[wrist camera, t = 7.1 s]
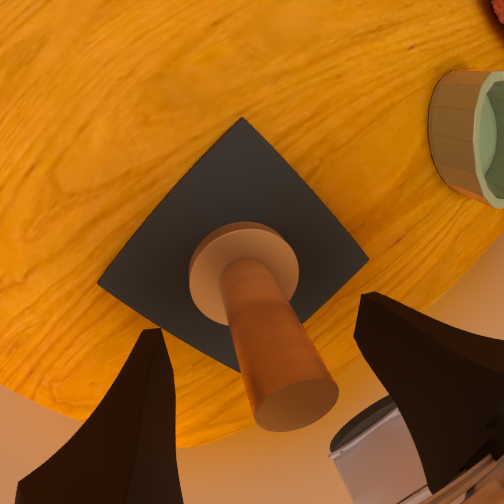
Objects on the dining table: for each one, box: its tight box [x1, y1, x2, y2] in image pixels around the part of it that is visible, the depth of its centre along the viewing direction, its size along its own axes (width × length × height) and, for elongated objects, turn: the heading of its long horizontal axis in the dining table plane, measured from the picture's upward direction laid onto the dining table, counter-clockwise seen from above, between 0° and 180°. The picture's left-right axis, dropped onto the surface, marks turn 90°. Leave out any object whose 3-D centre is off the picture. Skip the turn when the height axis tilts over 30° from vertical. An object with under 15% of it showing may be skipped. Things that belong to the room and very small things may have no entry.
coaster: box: [97, 117, 369, 374], centre depth 15 cm, size 10×10×1 cm
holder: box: [428, 69, 504, 209], centre depth 13 cm, size 8×8×4 cm
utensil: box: [189, 222, 339, 432], centre depth 11 cm, size 5×5×8 cm
